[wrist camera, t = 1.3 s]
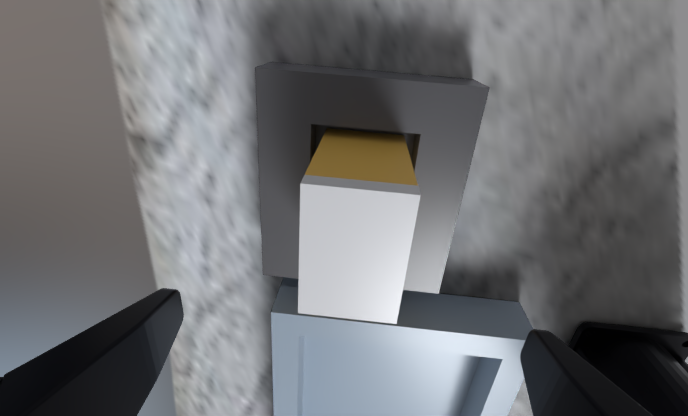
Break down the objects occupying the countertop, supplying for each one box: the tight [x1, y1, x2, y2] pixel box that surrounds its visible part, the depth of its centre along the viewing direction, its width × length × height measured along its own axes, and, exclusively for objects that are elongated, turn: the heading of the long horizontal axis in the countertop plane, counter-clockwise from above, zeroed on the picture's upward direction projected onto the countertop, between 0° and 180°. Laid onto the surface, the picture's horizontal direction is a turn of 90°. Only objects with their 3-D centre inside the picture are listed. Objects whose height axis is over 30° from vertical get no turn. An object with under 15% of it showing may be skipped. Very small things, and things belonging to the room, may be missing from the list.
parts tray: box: [271, 277, 533, 416], centre depth 23 cm, size 14×16×3 cm
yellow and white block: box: [298, 128, 421, 324], centre depth 14 cm, size 4×5×6 cm
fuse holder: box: [255, 62, 489, 294], centre depth 17 cm, size 9×10×2 cm
